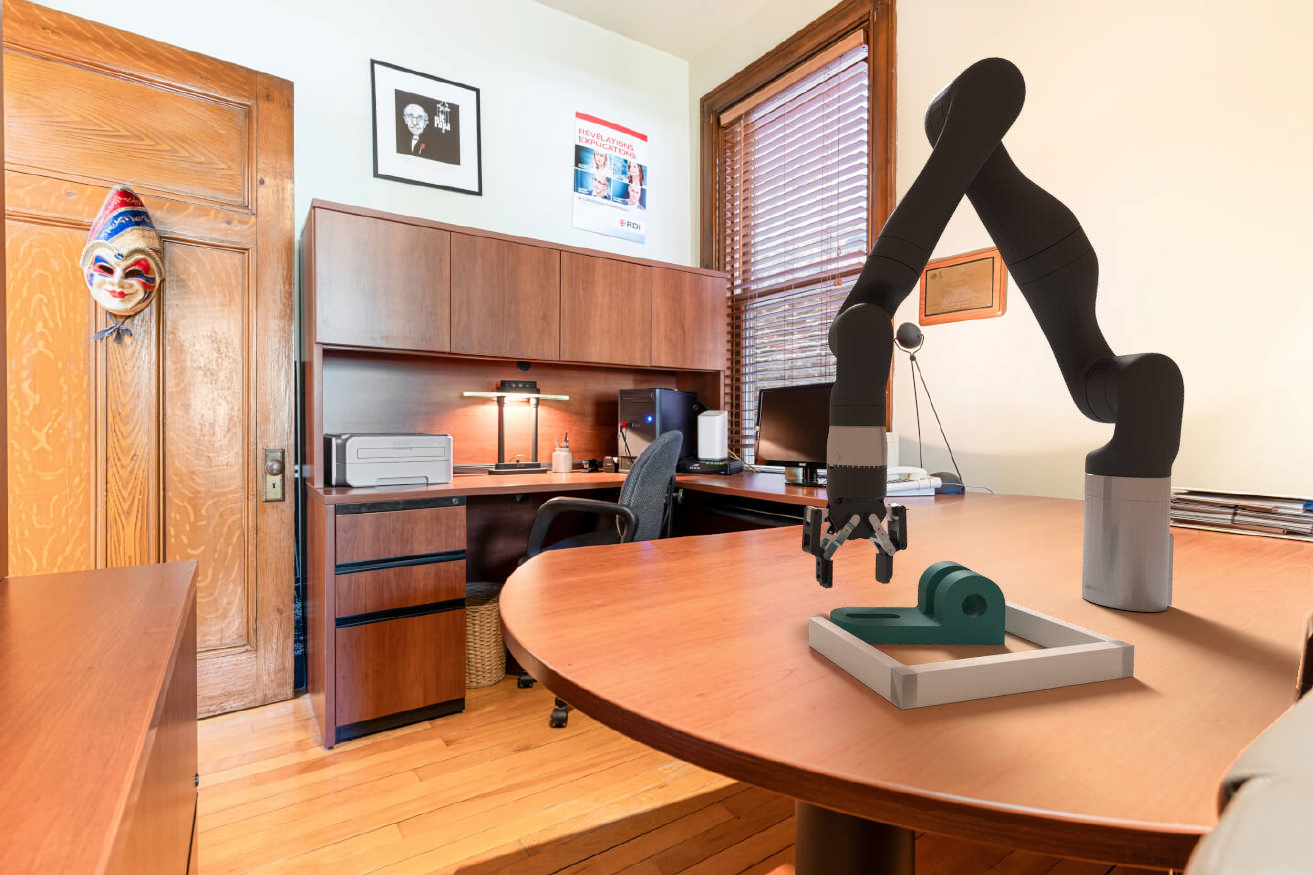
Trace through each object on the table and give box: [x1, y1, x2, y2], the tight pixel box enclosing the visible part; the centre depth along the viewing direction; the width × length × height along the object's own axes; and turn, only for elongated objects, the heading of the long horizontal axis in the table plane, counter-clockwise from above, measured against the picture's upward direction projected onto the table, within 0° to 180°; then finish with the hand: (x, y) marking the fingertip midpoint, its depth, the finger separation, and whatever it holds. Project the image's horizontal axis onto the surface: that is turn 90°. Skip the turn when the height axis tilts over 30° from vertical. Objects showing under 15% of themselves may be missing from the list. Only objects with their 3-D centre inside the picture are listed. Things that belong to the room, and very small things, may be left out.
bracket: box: [829, 560, 1006, 646], centre depth 71 cm, size 18×7×8 cm, turn 89°
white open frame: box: [808, 599, 1135, 710], centre depth 63 cm, size 26×16×3 cm, turn 106°
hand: (854, 584), depth 81 cm, fingers open, 8 cm apart
